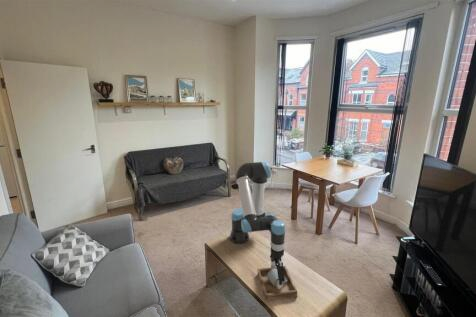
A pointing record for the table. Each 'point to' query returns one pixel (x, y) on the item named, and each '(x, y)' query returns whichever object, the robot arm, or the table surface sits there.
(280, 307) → the table surface
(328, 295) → the table surface
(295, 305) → the table surface
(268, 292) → the crate
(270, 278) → the ceramic mug
